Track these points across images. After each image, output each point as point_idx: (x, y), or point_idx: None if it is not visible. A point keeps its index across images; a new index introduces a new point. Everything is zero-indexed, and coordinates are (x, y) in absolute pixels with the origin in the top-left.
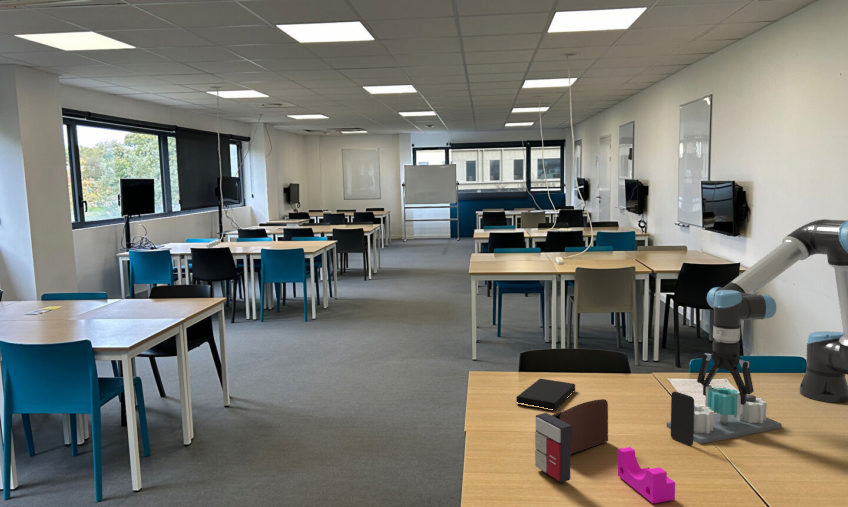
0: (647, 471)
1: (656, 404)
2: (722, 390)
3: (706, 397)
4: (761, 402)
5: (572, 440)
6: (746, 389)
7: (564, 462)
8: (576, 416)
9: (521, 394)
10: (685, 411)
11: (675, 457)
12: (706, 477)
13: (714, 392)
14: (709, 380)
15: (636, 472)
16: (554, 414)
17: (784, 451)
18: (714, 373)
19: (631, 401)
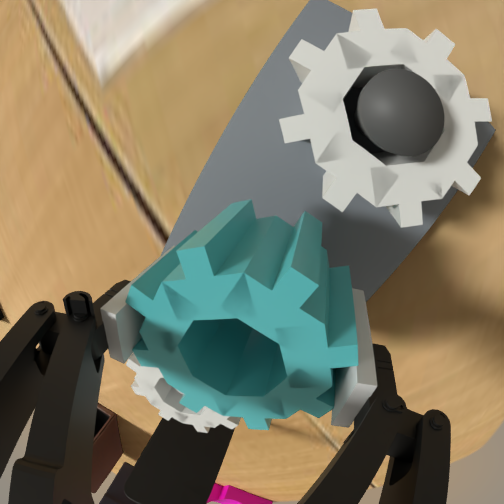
0: None
1: (42, 156)
2: (201, 314)
3: None
4: (467, 134)
5: (112, 459)
6: (390, 472)
7: None
8: (95, 480)
9: None
10: (188, 479)
11: (230, 448)
12: (297, 477)
13: (182, 386)
14: (97, 395)
15: (217, 500)
16: None
17: (468, 346)
18: (84, 447)
19: (10, 182)
